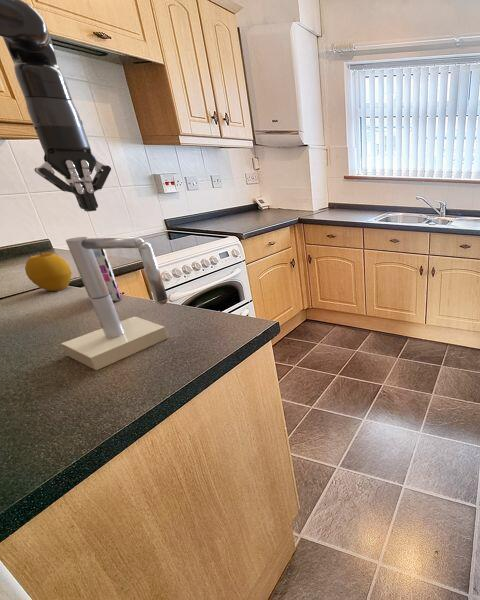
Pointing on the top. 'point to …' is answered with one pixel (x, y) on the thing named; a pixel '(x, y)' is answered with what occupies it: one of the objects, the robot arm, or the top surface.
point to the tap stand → (113, 337)
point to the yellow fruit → (48, 271)
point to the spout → (92, 272)
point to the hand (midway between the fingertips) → (90, 210)
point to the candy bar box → (107, 273)
